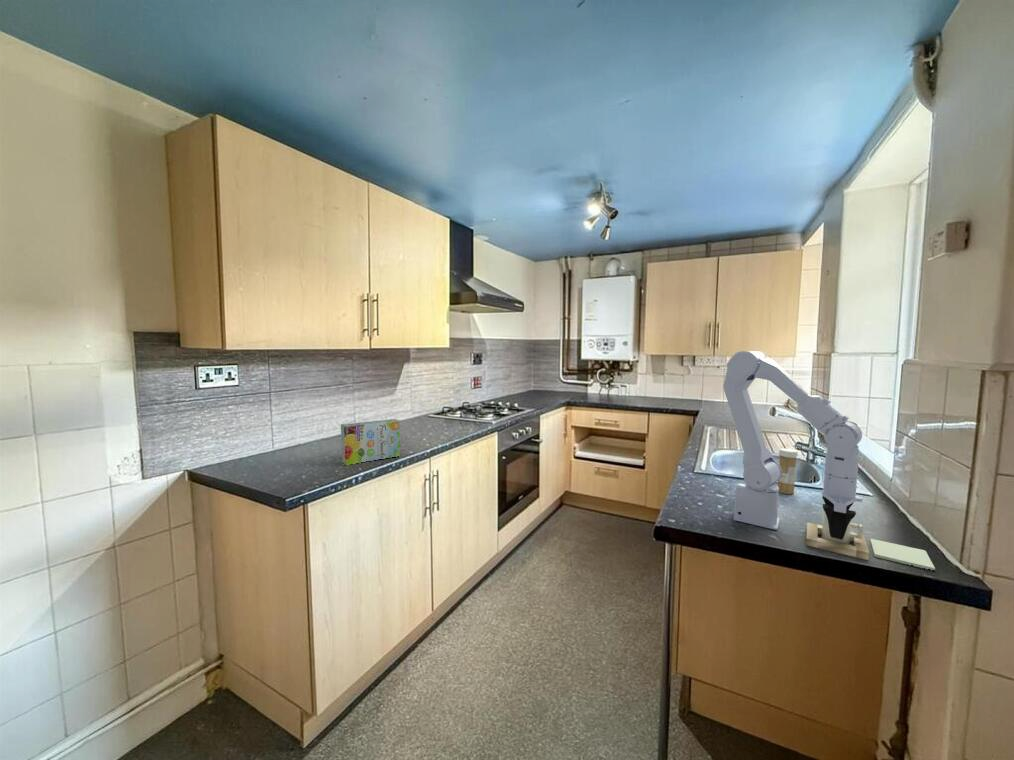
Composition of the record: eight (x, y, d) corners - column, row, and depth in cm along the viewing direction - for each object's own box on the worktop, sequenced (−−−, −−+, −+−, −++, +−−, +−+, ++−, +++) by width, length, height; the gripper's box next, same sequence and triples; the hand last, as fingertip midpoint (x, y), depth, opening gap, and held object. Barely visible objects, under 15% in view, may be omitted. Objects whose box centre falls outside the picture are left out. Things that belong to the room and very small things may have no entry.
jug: (821, 544, 92) (823, 514, 91) (821, 536, 96) (823, 507, 95) (861, 553, 88) (864, 522, 87) (859, 544, 92) (862, 515, 91)
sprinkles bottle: (773, 489, 127) (775, 447, 126) (786, 489, 128) (789, 447, 127) (784, 495, 123) (787, 451, 122) (798, 494, 123) (801, 451, 122)
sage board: (874, 556, 86) (874, 554, 86) (870, 540, 94) (870, 538, 94) (934, 571, 81) (935, 568, 81) (925, 553, 88) (925, 550, 88)
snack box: (395, 454, 165) (395, 418, 164) (400, 457, 161) (400, 420, 159) (341, 462, 153) (340, 423, 152) (345, 466, 148) (344, 426, 147)
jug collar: (806, 545, 91) (806, 538, 91) (806, 528, 100) (807, 522, 100) (868, 560, 85) (869, 552, 85) (863, 541, 93) (864, 534, 93)
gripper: (867, 487, 83) (862, 551, 84) (861, 470, 94) (856, 526, 96) (823, 480, 87) (819, 540, 88) (822, 465, 99) (818, 518, 100)
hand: (835, 533), depth 92 cm, fingers open, 5 cm apart
